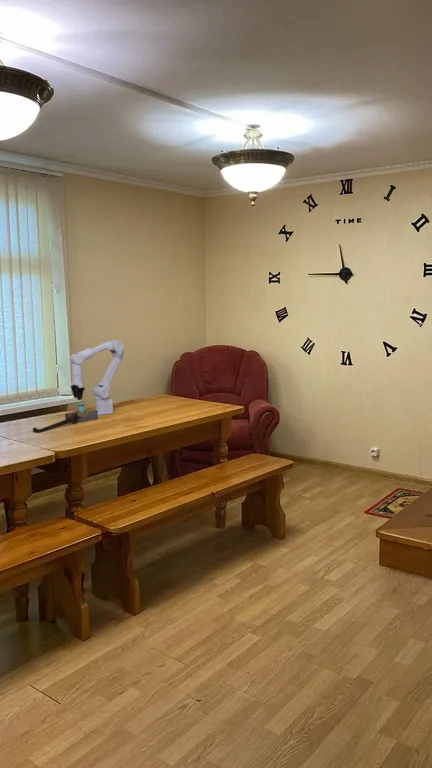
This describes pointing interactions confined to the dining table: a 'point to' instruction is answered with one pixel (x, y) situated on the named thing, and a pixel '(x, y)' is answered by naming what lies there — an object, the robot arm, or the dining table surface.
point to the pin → (81, 407)
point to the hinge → (84, 415)
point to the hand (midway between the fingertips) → (77, 398)
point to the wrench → (59, 423)
